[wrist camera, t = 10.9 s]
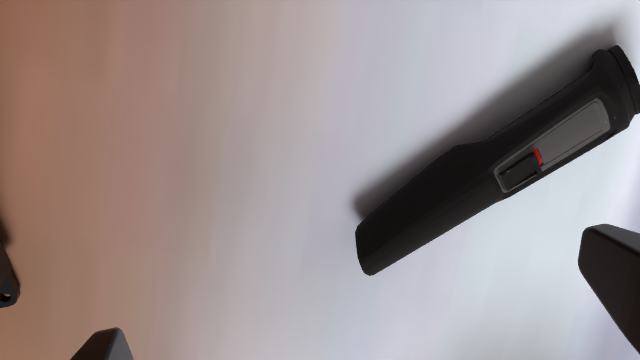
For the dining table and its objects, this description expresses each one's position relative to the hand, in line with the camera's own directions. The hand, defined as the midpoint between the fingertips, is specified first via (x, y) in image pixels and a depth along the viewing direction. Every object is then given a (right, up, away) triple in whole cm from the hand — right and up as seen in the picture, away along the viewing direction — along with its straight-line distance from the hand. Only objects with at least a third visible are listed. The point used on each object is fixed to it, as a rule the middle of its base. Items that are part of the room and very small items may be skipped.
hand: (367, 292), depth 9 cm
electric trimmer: (+7, +3, +15) cm, 17 cm away
